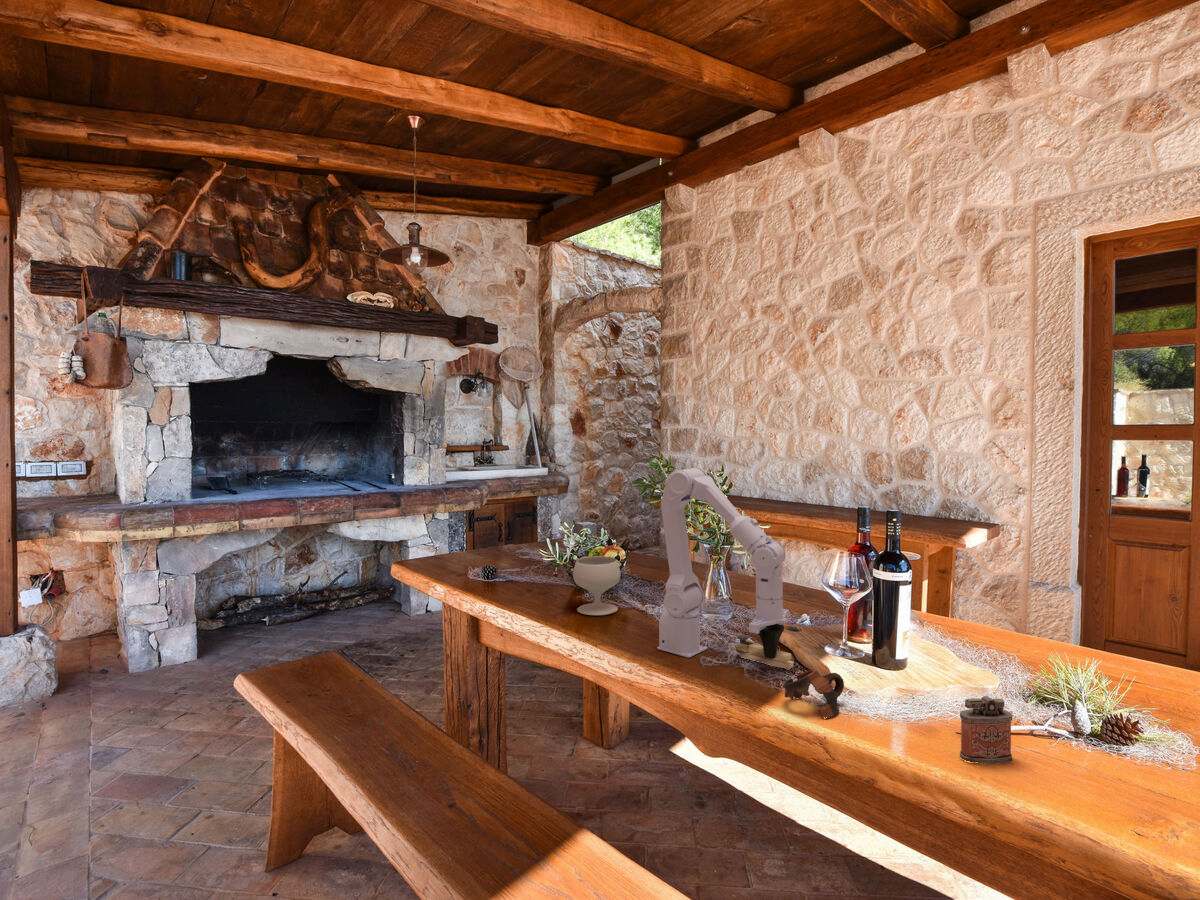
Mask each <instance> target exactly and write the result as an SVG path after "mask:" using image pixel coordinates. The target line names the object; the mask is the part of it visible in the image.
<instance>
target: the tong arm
mask: <svg viewBox="0 0 1200 900" xmlns="http://www.w3.org/2000/svg"><path fill="white" fill-rule="evenodd" d="M736 648H737V650H740V651H744V652H751V653H754V654H757V655H761V656H764V651H763V644H762V645H761V644H758V643H756V642H755V641H751V640H749V639H747V640H746V645H744V644H741V643H740V642H737V643H736ZM764 657H765V656H764ZM774 660H777V661H781V662H784V663H786V662H788V661H792V653H790V652H787V651H786V652H785V651H782V650H779V649H777V654H776V656H775V658H774Z"/></svg>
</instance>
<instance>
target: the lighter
mask: <svg viewBox="0 0 1200 900" xmlns="http://www.w3.org/2000/svg"><path fill="white" fill-rule="evenodd" d="M964 707H966V708H967V709H964V710H960V711H959V717H960V719H961V720H960V722H961V723H960V732H961V733H960V734H961V735H960V737H961V738H960V743H961V744H960V751H959V758H960V757H961V758H962V759H964V760H966V761H970V762H978V763H983V764H982V765H1001V764H1006V763H1007V764H1008V763H1012V761H1013V754H1012V751H1011V750H1012V748H1011V747H1012V746H1011V745H1012V721H1013V713H1012V712H1010V711H1008V710H1005V709H1004V708H1005V700H1004V699H1003V698H999V697H998V698H991V697H990V696H988V695H983V696H982V697H981V698H979V697H978V698H977V697H976V698H975V697H974V698H972V697H971V698H966V699H965V700H964ZM984 763H985V764H984Z"/></svg>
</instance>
